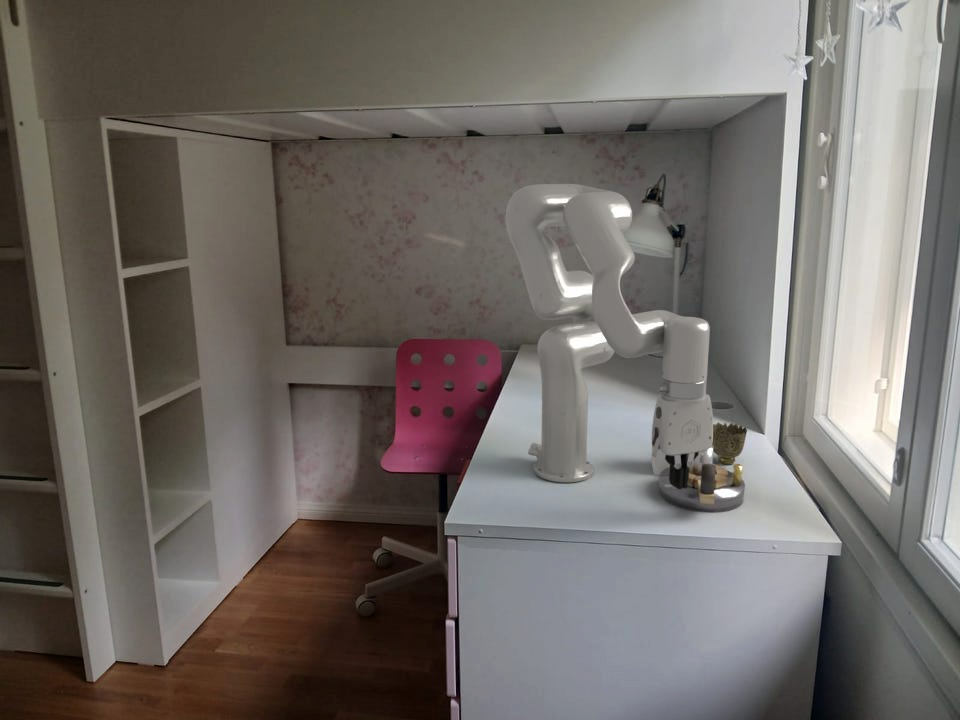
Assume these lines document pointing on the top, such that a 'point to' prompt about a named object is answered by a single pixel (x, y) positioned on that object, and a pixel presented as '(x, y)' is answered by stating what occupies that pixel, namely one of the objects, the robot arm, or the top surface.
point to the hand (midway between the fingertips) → (678, 485)
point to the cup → (728, 442)
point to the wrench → (708, 481)
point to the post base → (689, 497)
